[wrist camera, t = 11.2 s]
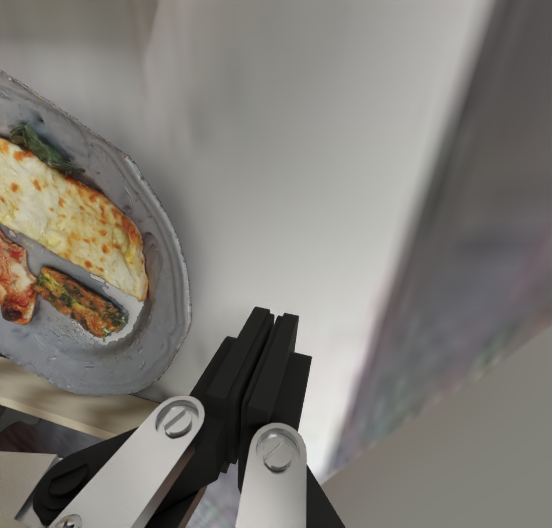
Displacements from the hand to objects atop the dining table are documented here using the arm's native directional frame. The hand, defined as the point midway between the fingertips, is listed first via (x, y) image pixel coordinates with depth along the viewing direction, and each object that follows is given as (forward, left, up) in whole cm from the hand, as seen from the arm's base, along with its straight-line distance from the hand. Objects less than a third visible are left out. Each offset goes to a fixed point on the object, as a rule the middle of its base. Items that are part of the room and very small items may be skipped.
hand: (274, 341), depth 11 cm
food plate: (+19, +3, -8) cm, 21 cm away
